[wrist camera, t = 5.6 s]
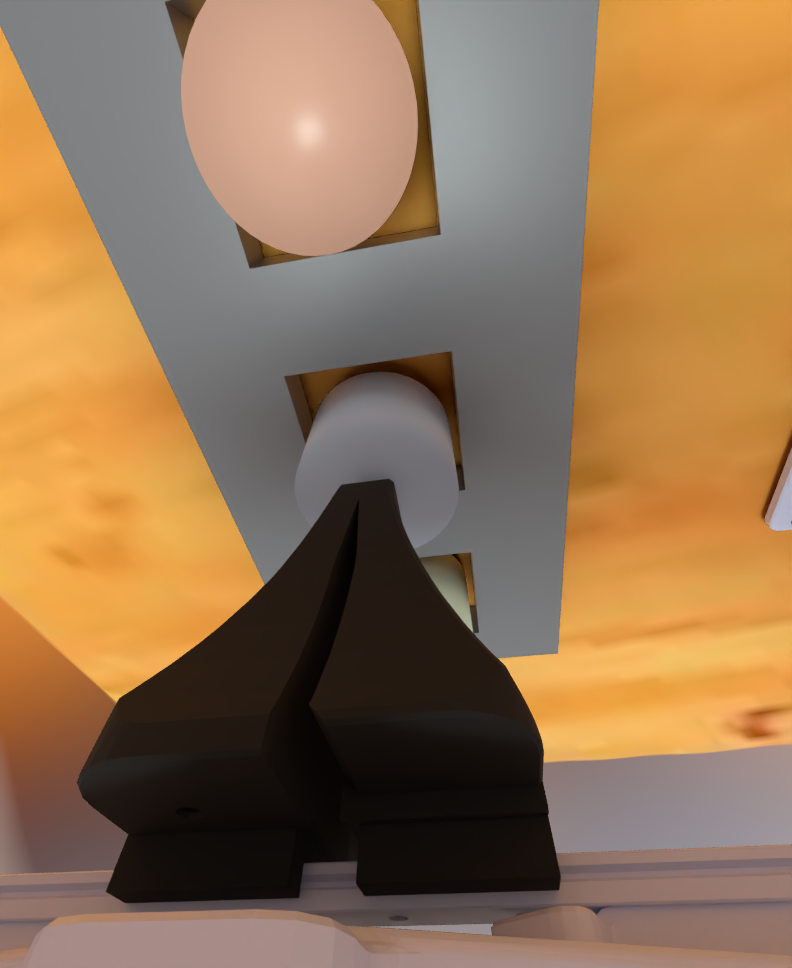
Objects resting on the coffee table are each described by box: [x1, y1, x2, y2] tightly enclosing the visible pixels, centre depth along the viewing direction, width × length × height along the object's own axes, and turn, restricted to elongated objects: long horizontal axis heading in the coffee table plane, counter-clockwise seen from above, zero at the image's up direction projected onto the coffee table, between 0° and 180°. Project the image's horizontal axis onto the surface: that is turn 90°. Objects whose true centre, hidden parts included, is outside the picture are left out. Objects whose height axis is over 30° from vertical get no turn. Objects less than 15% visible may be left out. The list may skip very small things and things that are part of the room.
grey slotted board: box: [0, 0, 599, 658], centre depth 16 cm, size 12×25×2 cm, turn 9°
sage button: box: [419, 554, 473, 632], centre depth 19 cm, size 4×4×3 cm
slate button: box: [294, 372, 459, 549], centre depth 14 cm, size 4×4×3 cm
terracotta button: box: [181, 0, 418, 256], centre depth 10 cm, size 4×4×3 cm
